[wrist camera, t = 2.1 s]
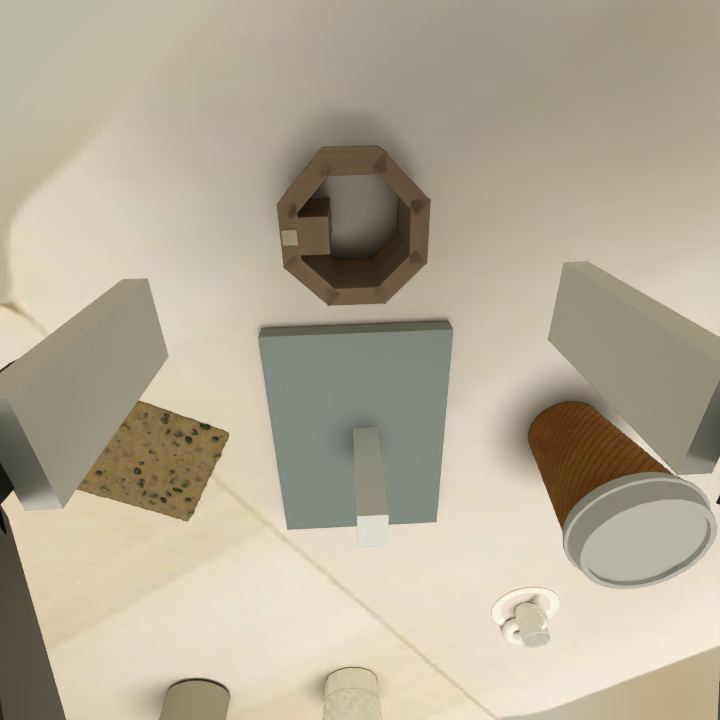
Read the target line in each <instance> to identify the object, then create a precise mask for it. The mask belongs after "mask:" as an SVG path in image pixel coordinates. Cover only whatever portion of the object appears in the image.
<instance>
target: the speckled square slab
mask: <svg viewBox="0 0 720 720" xmlns="http://www.w3.org/2000/svg"><path fill="white" fill-rule="evenodd" d="M228 437H229V433H228V432H226V431H224V430H221V429H218V428H215V427H212V426H210V425H207V424H204V423H201V422H198V421H196V420H194V419H191V418H187V417H183V416H181V415H178V414H175V413H173V412H171V411H168V410H165V409H161V408H158V407H156V406H154V405H151V404H149V403H144V402H141V401H137V403H136V404H135V406H134V407H133V408H132V410H131V411H130V413H129V414H128V416H127V417H126V418H125V420H124V421H123V423H122V424H121V426H120V427H119V429H118V430H117V431H116V433H115V434H114V436H113V437H112V439H111V440H110V442H109V443H108V444H107V446H106V447H105V449H104V450H103V452H102V453H101V454H100V456H99V457H98V459H97V460H96V462H95V463H94V465H93V466H92V467H91V469H90V470H89V472H88V473H87V475H86V476H85V477H84V479H83V480H82V482H81V483H80V485H79V486H78V488H77V490H81V491H84V492H88V493H90V494H95V495H97V496H100V497H105V498H110V499H112V500H116V501H119V502H123V503H127V504H130V505H133V506H137V507H141V508H143V509H146V510H151V511H155V512H157V513H161V514H164V515H168V516H171V517H174V518H177V519H182V520H183V521H189V519H190V517H191V516H192V515H193V514H194V512H195V511H194V510H195V507H196V506H197V503H198V501H199V500H200V497H201V494H202V492H203V490H204V488H205V487H206V485H207V481H208V479H209V477H210V476H211V474H212V471H213V470H214V467H215V465H216V462H217V461H218V460H219V458H220V457H221V452H222V449H223V448H224V446H225V443H226V442H227V440H228Z"/></svg>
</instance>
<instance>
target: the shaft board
mask: <svg viewBox="0 0 720 720" xmlns="http://www.w3.org/2000/svg"><path fill="white" fill-rule="evenodd" d="M452 336H453V328H452V327H451V325H450V323H449V321H436V322H411V323H386V324H360V325H335V326H309V327H284V328H261V331H260V334H259V337H258V339H259V345H260V352H261V359H262V365H263V372H264V378H265V385H266V392H267V398H268V405H269V411H270V418H271V425H272V431H273V438H274V444H275V451H276V457H277V464H278V471H279V477H280V484H281V490H282V497H283V504H284V510H285V517H286V523H287V530H291V529H311V528H330V527H350V526H357V532H358V548H370V547H388V525H389V524H409V523H429V522H436V520H437V509H438V497H439V486H440V474H441V463H442V451H443V440H444V428H445V417H446V405H447V394H448V382H449V371H450V359H451V348H452Z"/></svg>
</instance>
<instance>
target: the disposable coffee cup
mask: <svg viewBox="0 0 720 720" xmlns="http://www.w3.org/2000/svg"><path fill="white" fill-rule="evenodd" d="M528 441H529V445H530V447H531V449H532V452H533V455H534V457H535V460H536V463H537V465H538V468H539V471H540V473H541V476H542V479H543V481H544V484H545V486H546V489H547V492H548V495H549V497H550V500H551V502H552V505H553V508H554V510H555V513H556V516H557V518H558V521H559V523H560V526H561V529H562V531H563V532H562V533H563V548H564V551H565V554H566V556H567V558H568V560H569V561H570V562H571V563H572V564H573V565H574V566H575V567H576V568H578V569H580V570H581V571H582V572H583V573H584V574H585V575H586V576H587V577H588V578H589V579H590V580H591V581H593V582H595V583H597V584H599V585H601V586H605V587H609V588H616V589H635V588H641V587H646V586H650V585H655V584H658V583H661V582H664V581H666V580H669V579H671V578H673V577H675V576H677V575H679V574H681V573H683V572H684V571H686V570H688V569H689V568H690V567H692V566H693V565H695V564H696V563H697V562H698V561H699V560H700V559H701V558H702V557H703V556H704V555H705V554H706V552H707V551H708V550H709V548H710V547H711V545H712V544H713V543H714V540H715V537H716V534H717V523H716V520H715V517H714V515H713V513H712V512H711V510H710V502H709V500H708V498H707V496H706V495H705V494H704V492H703V491H702V490H701V489H700V488H698V487H697V486H696V485H694V484H693V483H691V482H688V481H686V480H684V479H681V478H680V477H678V476H675V475H674V474H672V473H671V472H670V471H669V470H668V469H666V468H664V466H663V465H662V464H660V463H659V462H657V460H656V459H654V458H653V457H651V456H650V455H649V454H648V453H647V452H646V451H644V450H643V449H642V448H641V447H640V446H639V447H638V445H637V444H636V443H635V442H633V440H631V439H630V438H629V437H627V436H626V435H625V434H624V433H622V432H621V431H620V430H619V429H618V428H617V427H615V426H614V425H613V424H611V422H609V421H608V420H607V419H606V418H604V417H603V416H602V415H601V414H600V413H598V412H597V411H596V410H595V409H594V408H593V407H591V406H590V405H588V404H585V403H582V402H564V403H560V404H557V405H555V406H552V407H550V408H548V409H546V410H545V411H544V412H543V413H541V414H540V415H539V416H538V417H537V418H536V419H535V420H534V422H533V424H532V425H531V427H530V430H529V434H528Z"/></svg>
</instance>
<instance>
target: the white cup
mask: <svg viewBox="0 0 720 720" xmlns="http://www.w3.org/2000/svg"><path fill="white" fill-rule="evenodd" d="M323 720H382V713H381V704H380V701H379V695H378V685H377V679H376V676H375V675H374V674H373V673H372V672H370V671H368V670H365V669H361V668H346V669H342V670H338V671H336V672H334V673H332V674H331V675H329V677H328V679H327V680H326V683H325V704H324V709H323Z"/></svg>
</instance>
